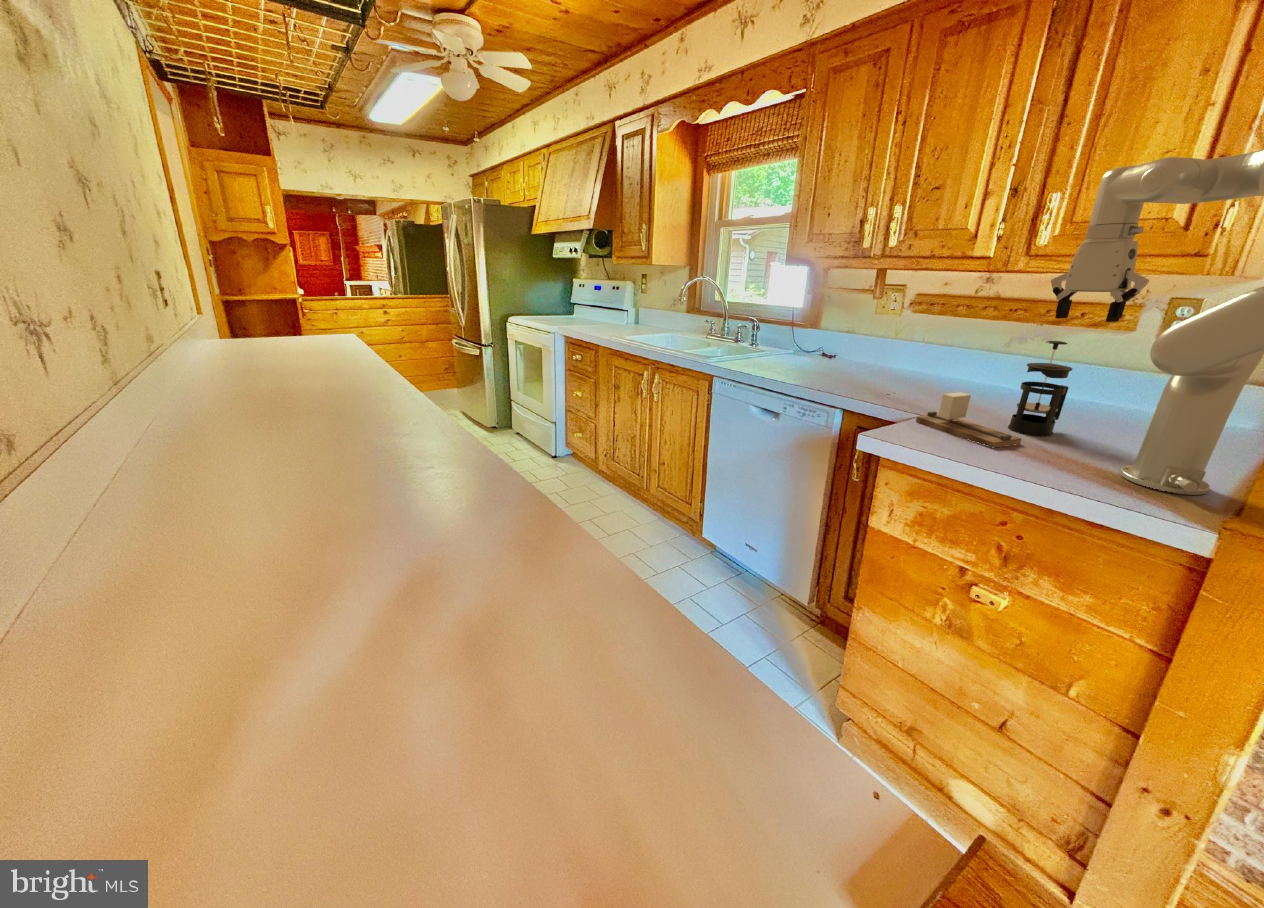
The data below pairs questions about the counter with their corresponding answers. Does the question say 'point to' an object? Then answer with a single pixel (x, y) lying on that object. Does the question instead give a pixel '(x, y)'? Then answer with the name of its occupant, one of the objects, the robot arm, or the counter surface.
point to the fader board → (968, 430)
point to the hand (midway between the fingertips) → (1085, 320)
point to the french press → (1036, 423)
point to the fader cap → (954, 405)
